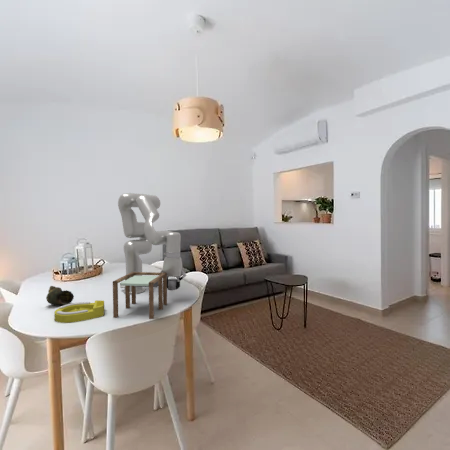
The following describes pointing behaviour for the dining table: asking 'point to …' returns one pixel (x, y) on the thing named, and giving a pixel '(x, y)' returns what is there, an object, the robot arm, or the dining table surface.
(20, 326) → the dining table surface
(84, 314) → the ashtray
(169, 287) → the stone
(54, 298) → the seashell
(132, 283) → the pale green flat block
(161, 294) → the frame
